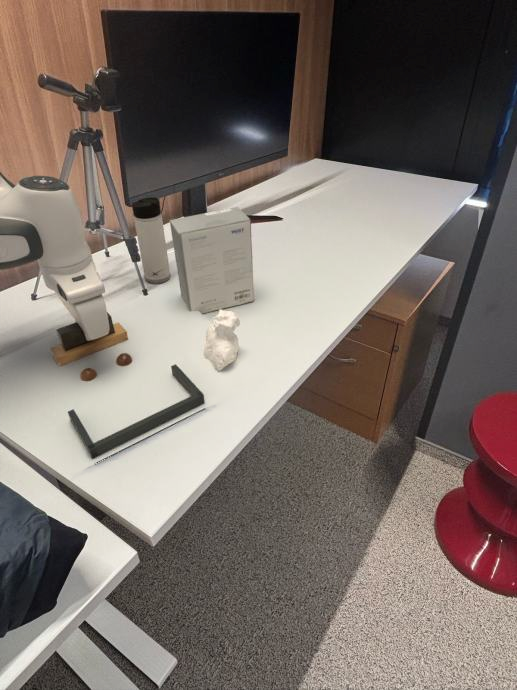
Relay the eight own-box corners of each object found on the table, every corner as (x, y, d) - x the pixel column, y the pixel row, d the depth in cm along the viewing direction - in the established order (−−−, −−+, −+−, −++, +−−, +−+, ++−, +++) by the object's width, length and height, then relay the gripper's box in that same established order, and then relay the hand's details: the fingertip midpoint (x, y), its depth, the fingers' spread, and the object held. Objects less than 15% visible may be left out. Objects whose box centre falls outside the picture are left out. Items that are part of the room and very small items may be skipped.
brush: (61, 371, 92) (50, 341, 87) (54, 360, 94) (43, 330, 90) (129, 343, 98) (122, 314, 94) (121, 334, 101) (114, 305, 96)
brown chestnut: (85, 389, 88) (81, 377, 86) (80, 380, 90) (76, 368, 88) (101, 382, 89) (97, 370, 87) (95, 374, 91) (91, 362, 89)
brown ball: (121, 374, 91) (118, 362, 89) (115, 365, 93) (112, 353, 91) (136, 367, 92) (133, 355, 91) (129, 359, 94) (127, 347, 93)
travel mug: (161, 286, 116) (148, 207, 104) (139, 280, 119) (124, 201, 106) (176, 275, 120) (166, 197, 108) (155, 269, 123) (143, 192, 111)
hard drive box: (242, 286, 116) (239, 206, 103) (255, 301, 110) (252, 219, 98) (180, 300, 111) (168, 218, 99) (189, 317, 105) (178, 233, 93)
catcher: (94, 464, 74) (89, 450, 72) (72, 426, 81) (67, 411, 79) (205, 409, 83) (203, 394, 81) (178, 378, 90) (175, 363, 88)
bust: (230, 385, 91) (265, 342, 87) (197, 373, 87) (231, 327, 83) (218, 348, 100) (248, 307, 96) (187, 335, 96) (217, 291, 92)
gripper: (33, 253, 90) (54, 314, 98) (70, 301, 77) (90, 366, 85) (67, 244, 93) (84, 304, 101) (107, 288, 80) (123, 353, 88)
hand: (87, 333), depth 93 cm, fingers closed on brush, 2 cm apart
